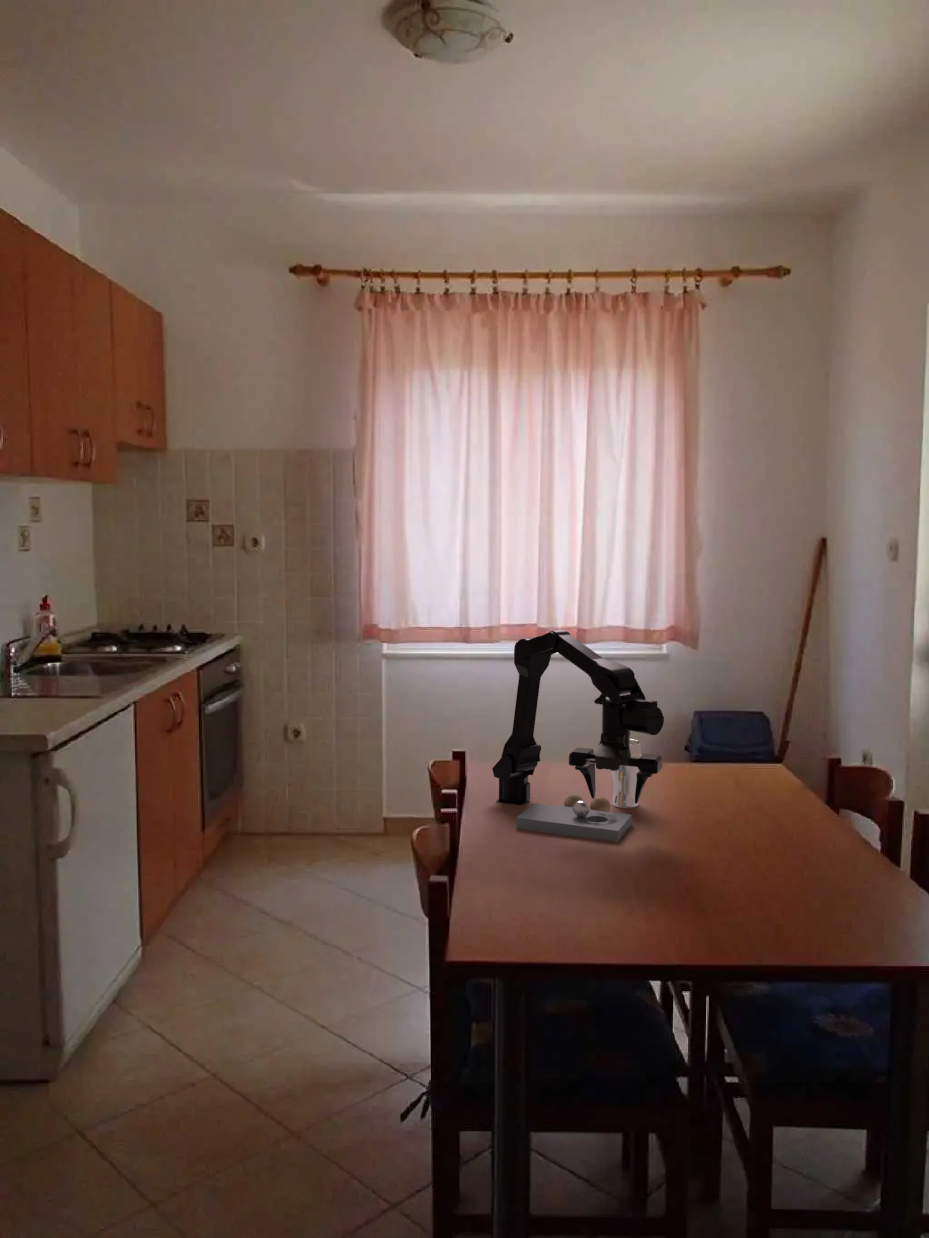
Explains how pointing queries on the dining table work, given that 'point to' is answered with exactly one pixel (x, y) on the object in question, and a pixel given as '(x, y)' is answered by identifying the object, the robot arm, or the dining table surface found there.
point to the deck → (574, 822)
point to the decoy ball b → (600, 804)
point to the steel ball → (581, 809)
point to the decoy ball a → (572, 799)
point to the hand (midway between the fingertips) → (614, 800)
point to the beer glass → (626, 780)
